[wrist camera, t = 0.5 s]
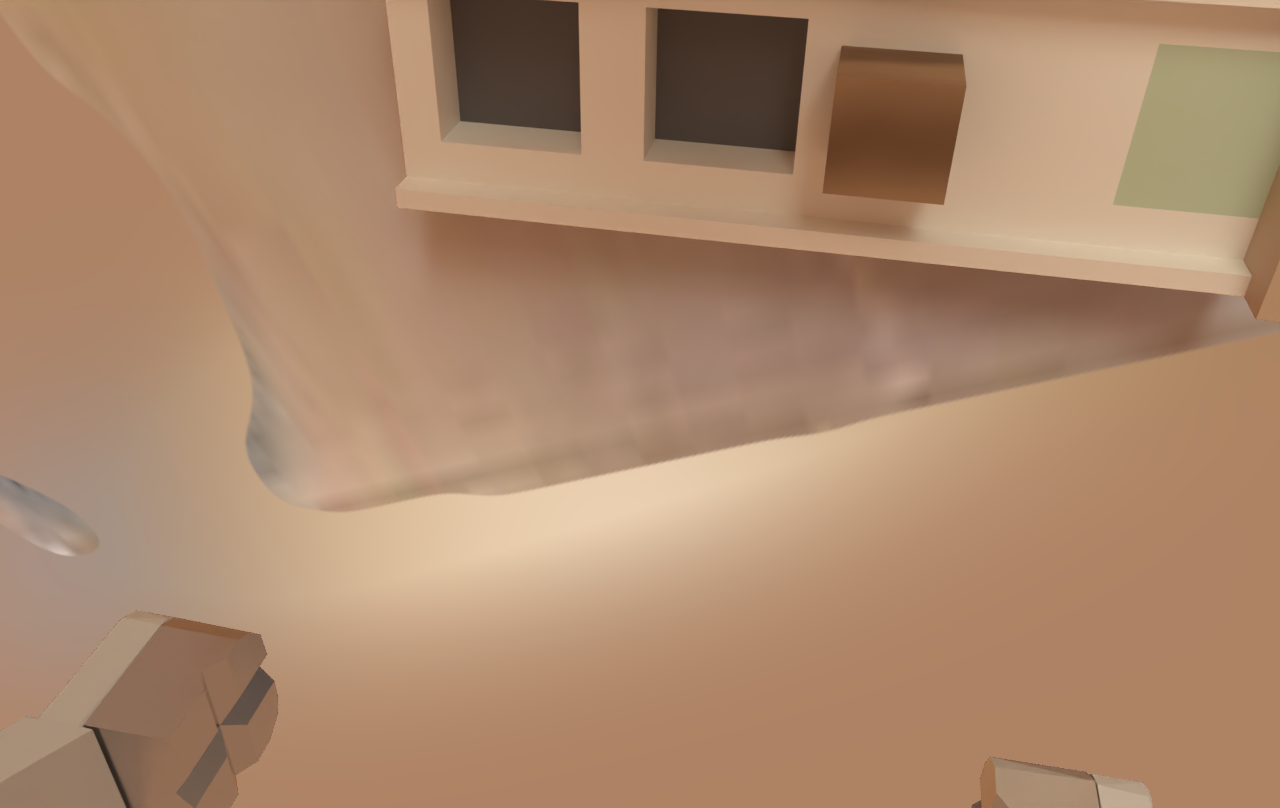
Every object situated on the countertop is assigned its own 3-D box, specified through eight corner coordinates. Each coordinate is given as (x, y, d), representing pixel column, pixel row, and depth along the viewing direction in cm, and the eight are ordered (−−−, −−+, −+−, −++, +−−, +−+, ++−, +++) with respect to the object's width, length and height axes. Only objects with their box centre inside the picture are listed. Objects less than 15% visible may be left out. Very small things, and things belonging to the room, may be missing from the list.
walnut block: (841, 45, 46) (836, 75, 42) (962, 54, 45) (966, 86, 42) (828, 156, 49) (822, 193, 45) (941, 167, 48) (943, 204, 45)
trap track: (401, -97, 49) (340, -66, 44) (1354, -42, 43) (1415, 2, 37) (430, 171, 56) (381, 225, 51) (1243, 252, 50) (1281, 322, 45)
